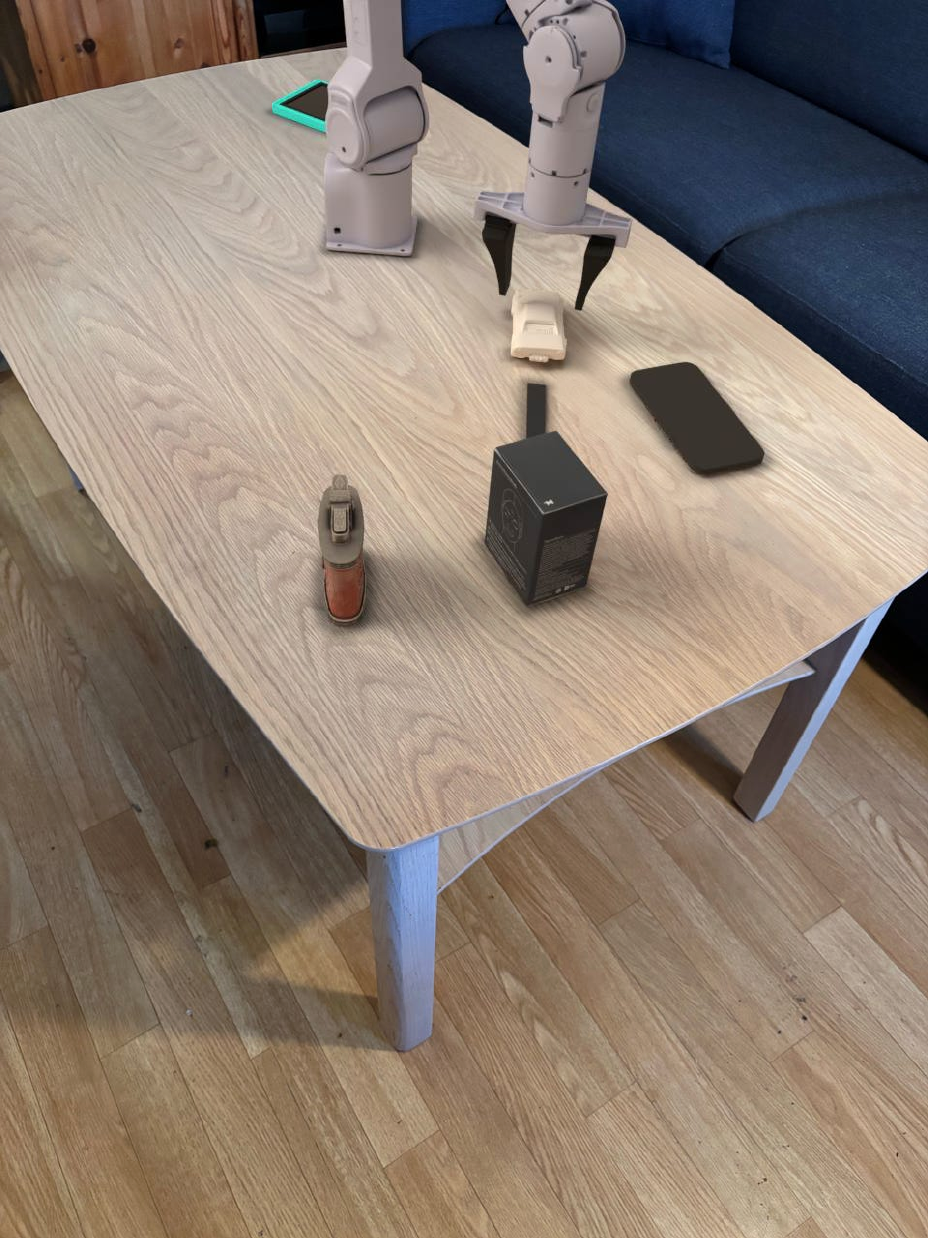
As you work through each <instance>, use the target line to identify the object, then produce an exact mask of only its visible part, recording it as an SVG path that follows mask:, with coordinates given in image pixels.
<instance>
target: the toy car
mask: <svg viewBox="0 0 928 1238" xmlns="http://www.w3.org/2000/svg"><path fill="white" fill-rule="evenodd" d="M564 303H565V302H564V299H563V298H562V297H561V296H560V294H559V291H555V290H547V289H538V288H537V289H536V288H535V289H534V288H517V289H516V290H515V292H514V295H512V301H511V312H510V313H511V317H512V335H511V341H510V342H511V343H510V355H511V357H513V358H520V359H524V358H528V360H529V361H530V362H537V363H539V362H540V363H548V361H549V359H551V360H554V361H562V360H565V357H566V352H567V351H566V350H567V349H566V348H567V344H568V339H567V338H566V337H565V326H564V313H563V311H564Z"/></svg>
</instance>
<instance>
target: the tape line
mask: <svg viewBox="0 0 928 1238" xmlns="http://www.w3.org/2000/svg"><path fill="white" fill-rule="evenodd" d="M546 416H547V385H546V384H545V383H544V384H543V383H531V382H527V384H526V417H525V418H526V419H525V420H526V422H525V423H526V424H525V425H526V426H525V427H526V429H525V439H527V438H531V437H534V436H538V435H541V434H545V433H547V432H546V431H547V417H546Z"/></svg>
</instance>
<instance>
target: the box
mask: <svg viewBox="0 0 928 1238" xmlns="http://www.w3.org/2000/svg"><path fill="white" fill-rule="evenodd" d="M608 496H609V493H608V492H607V490H606V489H605V488H604V487H603V485H602V484H601V483H600V482H599V481H598V480H597V478H596V477H595V476H594V475H593V473H592V472H591V471H590V469H589V468H588V467H587V466H586V464H584V462H583V461H582V460H581V458H580V457H579V456H578V455H577V454H576V452H575V451H574V450H573V449H572V447H571V446H570V445H569V444H568V443H567V441H566V440H565V439H564V438H563V436H562V435H561V434H560V433H559V431H558V430H553V431H549V432H546V433H545V434H541V435H538V436H534V437H531V438H527V439H526V438H524V439H521V440H517V441H513V442H510V443H506V444H505V443H504V444H502V445H498V446H496V447H494V448H493V454H492V464H491V476H490V486H489V496H488V505H487V514H486V515H487V516H486V525H485V532H484V533H485V535H484V544H485V546H486V547H487V549H488V551H489V552H490V553H491V555H492V556H493V558H494V559H495V561H496V562H497V564H498V565H499V567H500V568H501V570H502V571H503V573H504V574H505V576H506V577H507V579H508V580H509V582H510V584H511V585H512V586H513V587H514V589H515V591H516V592H517V594H518V595H519V597H520V598H521V600H522V602H524V603H525V605H526V607H532V606H534V605H537V604H541V603H544V602H547V601H550V600H553V599H555V598H559V597H561V596H565V595H567V594H571V593H574V592H576V591H579V590H582V589H585V588H586V586H587V584H588V580H589V576H590V572H591V567H592V563H593V560H594V555H595V550H596V547H597V542H598V538H599V534H600V530H601V526H602V521H603V518H604V512H605V508H606V504H607V498H608Z"/></svg>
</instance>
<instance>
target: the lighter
mask: <svg viewBox="0 0 928 1238" xmlns="http://www.w3.org/2000/svg"><path fill="white" fill-rule="evenodd" d="M317 531H318V541H319V551H320V552H319V553H320V563H321V569H322V570H323V578H322V579H323V580H322V584H323V594H324V605H325V609H326V613H327V617H328V620H329V623H331V624H332V625H333V626H335V627H338V628H341V629H348V628H353V627H355V626H357V625H359V624H360V623H361V621H362V620H363V618H364V617H363V616H364V613H365V608H366V604H367V593H368V592H367V591H368V583H367V581H368V580H367V573H366V566H365V565H366V564H365V562H364V549H363V547H364V540H365V517H364V510H363V503H362V501H361V498H360V493H359V491H358V489H357V488H356V487H355V486H353V485H350V484H349V477H348V476H347V474H346V473H345V474H344V473H336V474H333V475H332V476H331V485H329V486H328V487H326V488H325V490H324V491H323V492H322V495H321V500H320V503H319V507H318V515H317Z"/></svg>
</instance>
